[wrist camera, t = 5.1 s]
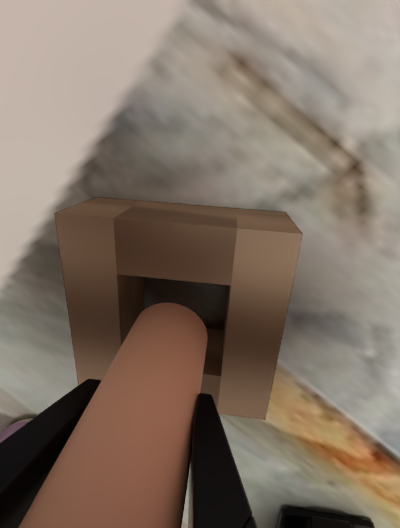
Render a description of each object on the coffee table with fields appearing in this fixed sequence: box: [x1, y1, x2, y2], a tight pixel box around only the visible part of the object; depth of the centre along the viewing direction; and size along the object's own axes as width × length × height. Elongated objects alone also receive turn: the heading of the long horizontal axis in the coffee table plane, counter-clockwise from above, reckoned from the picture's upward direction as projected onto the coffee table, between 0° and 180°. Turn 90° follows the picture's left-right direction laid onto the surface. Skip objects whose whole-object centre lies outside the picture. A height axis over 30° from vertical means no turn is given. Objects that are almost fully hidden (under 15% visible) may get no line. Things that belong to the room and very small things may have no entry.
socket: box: [54, 197, 303, 420], centre depth 14 cm, size 9×9×4 cm
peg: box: [18, 303, 208, 528], centre depth 7 cm, size 3×3×9 cm
